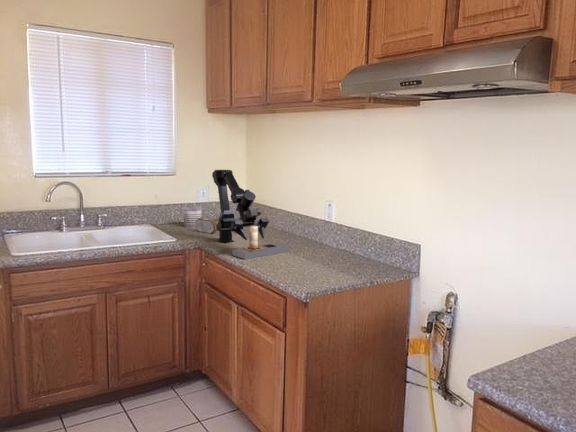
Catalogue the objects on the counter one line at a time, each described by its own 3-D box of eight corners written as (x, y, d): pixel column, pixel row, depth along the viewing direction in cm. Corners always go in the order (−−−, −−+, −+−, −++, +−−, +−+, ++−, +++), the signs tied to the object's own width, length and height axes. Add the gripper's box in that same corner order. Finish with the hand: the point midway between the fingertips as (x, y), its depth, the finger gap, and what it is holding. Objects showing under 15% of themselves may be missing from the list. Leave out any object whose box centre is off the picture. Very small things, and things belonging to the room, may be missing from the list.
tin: (217, 233, 284) (217, 219, 283) (214, 234, 282) (214, 220, 280) (198, 230, 292) (198, 217, 291) (194, 231, 290) (194, 217, 288)
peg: (247, 254, 236) (248, 226, 234) (254, 253, 238) (255, 225, 236) (252, 256, 233) (252, 227, 230) (259, 255, 235) (259, 226, 233)
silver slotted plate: (244, 259, 226) (245, 252, 225) (232, 255, 233) (232, 248, 233) (289, 251, 244) (289, 244, 244) (276, 247, 252) (276, 241, 251)
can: (203, 224, 312) (202, 206, 310) (200, 228, 301) (200, 209, 299) (185, 224, 311) (184, 206, 309) (182, 228, 300) (181, 208, 298)
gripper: (232, 203, 230) (242, 230, 222) (267, 201, 240) (278, 227, 232) (225, 217, 238) (235, 244, 230) (259, 215, 247) (269, 240, 240)
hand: (255, 238), depth 233 cm, fingers open, 9 cm apart
